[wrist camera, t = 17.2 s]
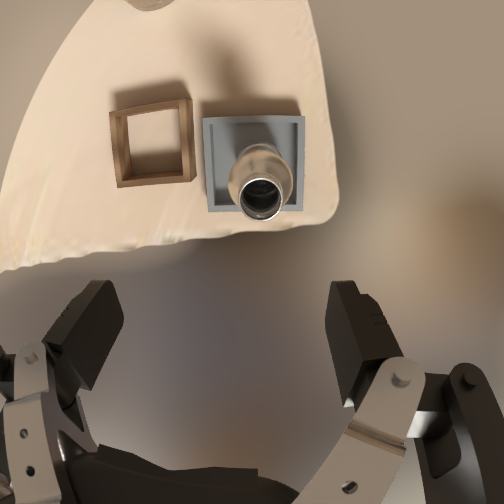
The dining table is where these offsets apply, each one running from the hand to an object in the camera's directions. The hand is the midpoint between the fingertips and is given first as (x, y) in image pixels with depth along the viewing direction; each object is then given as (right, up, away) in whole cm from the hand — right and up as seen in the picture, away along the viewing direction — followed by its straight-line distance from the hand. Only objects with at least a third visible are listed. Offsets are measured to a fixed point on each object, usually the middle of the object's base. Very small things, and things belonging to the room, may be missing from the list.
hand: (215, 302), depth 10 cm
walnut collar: (-13, +19, +29) cm, 37 cm away
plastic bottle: (+2, +15, +30) cm, 34 cm away
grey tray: (+2, +15, +30) cm, 34 cm away
